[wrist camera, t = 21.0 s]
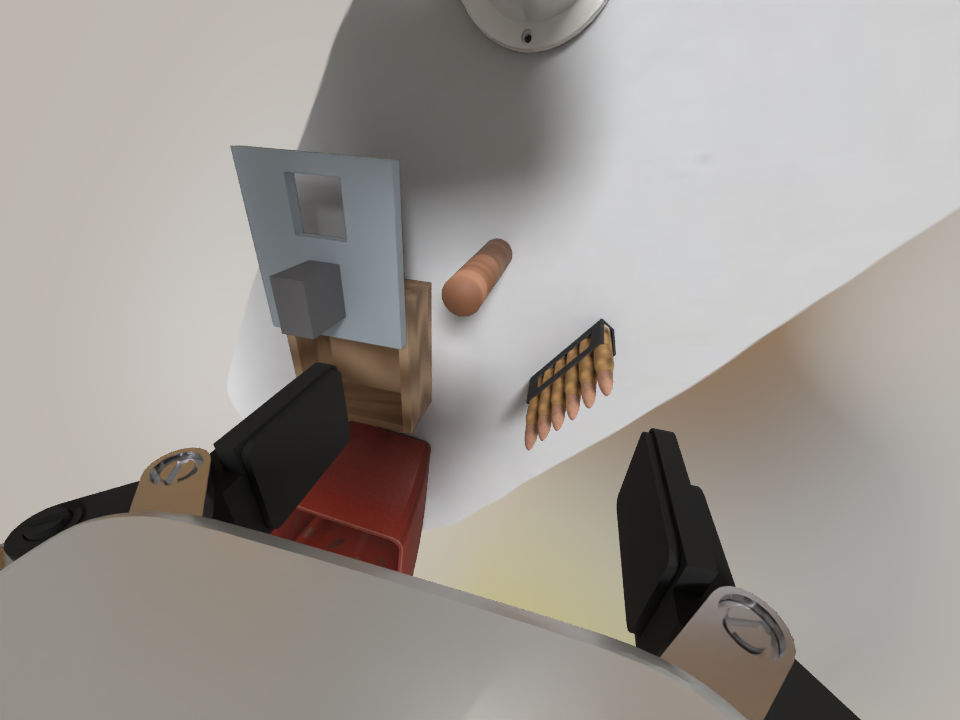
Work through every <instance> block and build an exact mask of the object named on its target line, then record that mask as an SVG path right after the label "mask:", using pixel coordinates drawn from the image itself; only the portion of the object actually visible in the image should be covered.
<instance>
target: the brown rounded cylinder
mask: <svg viewBox="0 0 960 720" xmlns="http://www.w3.org/2000/svg"><path fill="white" fill-rule="evenodd" d="M511 259H512V250H511V247H510V246H509V244H508V243H507V242H506V241H504V240H502V239H492V240H490V241H489V242H487V243H486V244H485V245H484V246H483V247H482V248H481V249H480V250H479V251H478V252H477V253H476V254H475V255H474V256H473V257H472V258H471V259H470V260H469V261H468V262H467V263H466V264H465V265H463V266H462V267H461V268H460V269H459V270H458V271H457V272H456V273H455V274H454V275H453V276H452V277H451V278H450V279H449V280H448V281H447V282H446V283H445V284H444V286H443V289H442V300H443V302H444V304H445V306H446V307H447V309H448V310H449V311H451V312H452V313H453V314H455V315H458V316H470V315H472V314H474V313H475V312H477V311H478V309H479V308H480V306H481V305H482V303H483V302H484V300H485V299H486V297H487V296H488V294H489V293H490V291H491V290H492V288H493V287H494V285H495V284H496V282H497V281H498V279H499V278H500V276H501V275H502V273H503V272H504V270H505V269H506V268H507V266H508V265H509V263H510V261H511Z"/></svg>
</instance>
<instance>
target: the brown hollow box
mask: <svg viewBox="0 0 960 720" xmlns="http://www.w3.org/2000/svg"><path fill="white" fill-rule="evenodd" d="M404 294H405V319H406V343H407V344H406V345H405V346H404V347H403V348H402V349H396V348H391V347H385V346H380V345H375V344H369V343H364V342H358V341H353V340H347V339H342V338H336V337H331V336H325V335H319V336H318V337H317V338H315V339H308V338H303V337H298V336H292V335H287V337H288V342H289V346H290V351H291V355H292V360H293V364H294V368H295V373H296V377H298V376H299V375H300V374H302V373H303V372H304V371H305V370H307V369H308V368H309V367H310V366H312V365H313V364H314V363H316V362H321V363H326V364H331V365H335V366H336V367H337V370H338V371H340V372H341V375H342V381H343V388H344V394H345V401H346V408H347V414H348V420H351V421H355V422H360V423H364V424H368V425H373V426H377V427H382V428H386V429H391V430H395V431H400V432H404V433H408V434H412V432H413V431H414V429H415V427H416V426H417V424H418V422H419V421H420V419H421V417H422V416H423V414H424V412H425V411H426V409H427V407H428V406H429V404H430V403H431V401H432V379H431V283H430V282H423V281H416V280H410V279H404Z"/></svg>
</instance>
